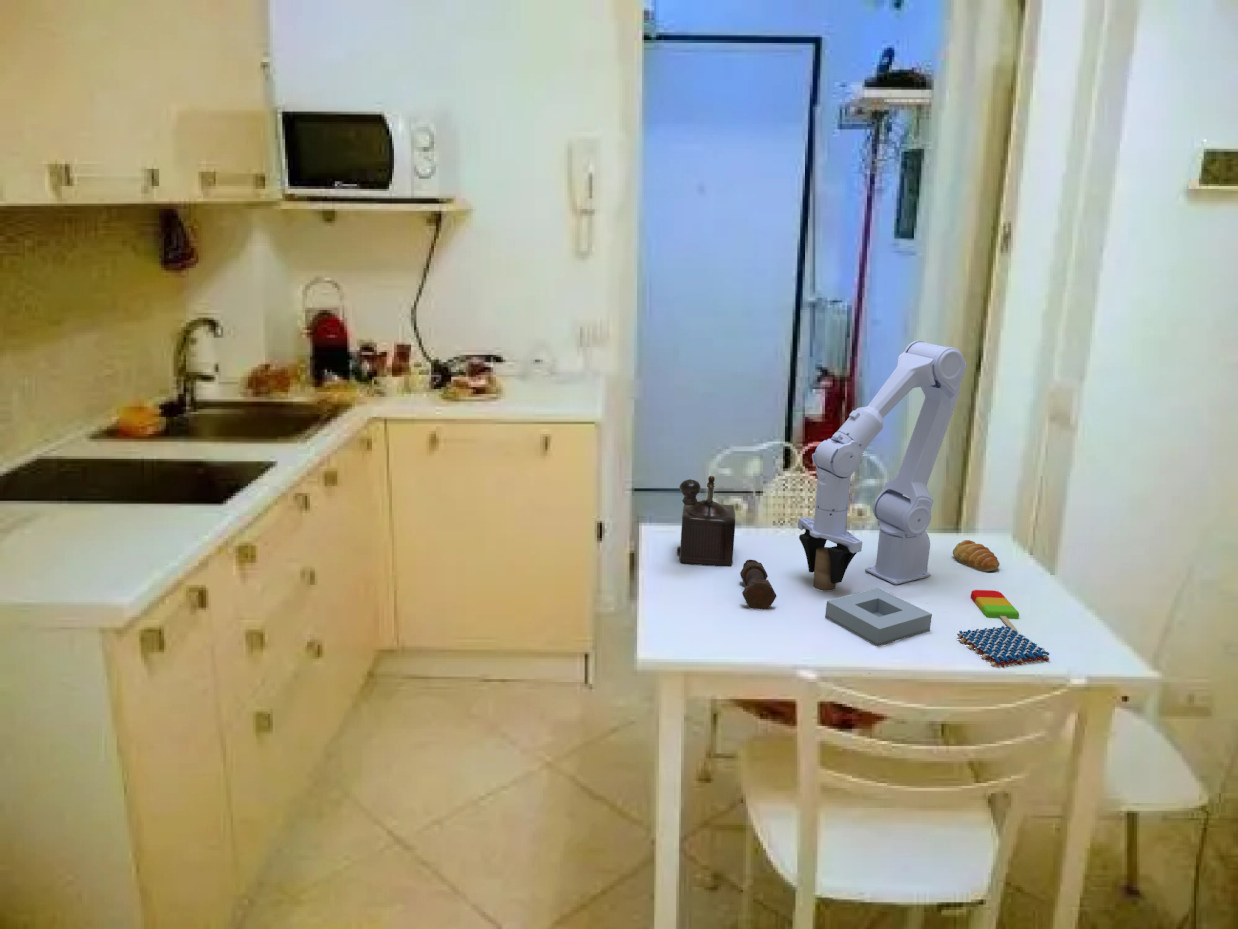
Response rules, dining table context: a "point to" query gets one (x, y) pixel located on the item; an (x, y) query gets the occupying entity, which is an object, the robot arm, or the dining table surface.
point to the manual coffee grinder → (705, 527)
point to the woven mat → (1003, 646)
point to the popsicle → (995, 606)
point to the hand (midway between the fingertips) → (825, 576)
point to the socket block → (878, 616)
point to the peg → (822, 570)
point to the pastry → (975, 556)
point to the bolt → (757, 586)
